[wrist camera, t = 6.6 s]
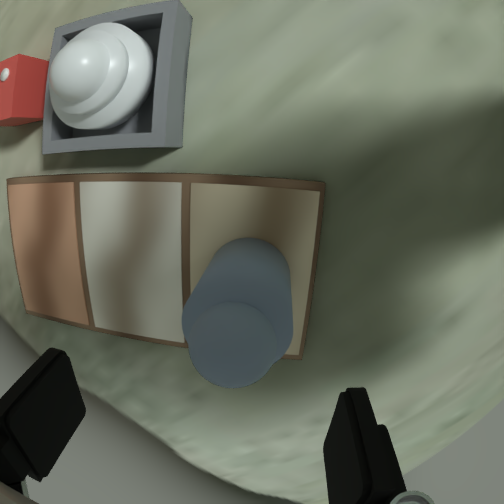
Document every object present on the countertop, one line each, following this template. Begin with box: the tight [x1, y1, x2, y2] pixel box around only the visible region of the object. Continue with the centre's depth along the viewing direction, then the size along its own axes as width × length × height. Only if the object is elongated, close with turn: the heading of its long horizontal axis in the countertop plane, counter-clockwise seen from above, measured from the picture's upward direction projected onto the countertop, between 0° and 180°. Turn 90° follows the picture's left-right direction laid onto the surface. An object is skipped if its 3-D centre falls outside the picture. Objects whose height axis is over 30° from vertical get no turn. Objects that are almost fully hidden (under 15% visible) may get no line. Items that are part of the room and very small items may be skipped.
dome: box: [49, 22, 156, 130], centre depth 13 cm, size 6×6×5 cm
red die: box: [0, 54, 49, 126], centre depth 16 cm, size 4×4×4 cm
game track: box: [7, 173, 326, 360], centre depth 20 cm, size 24×12×1 cm, turn 87°
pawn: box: [181, 238, 293, 388], centre depth 15 cm, size 5×5×9 cm
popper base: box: [42, 0, 193, 154], centre depth 16 cm, size 9×9×3 cm
